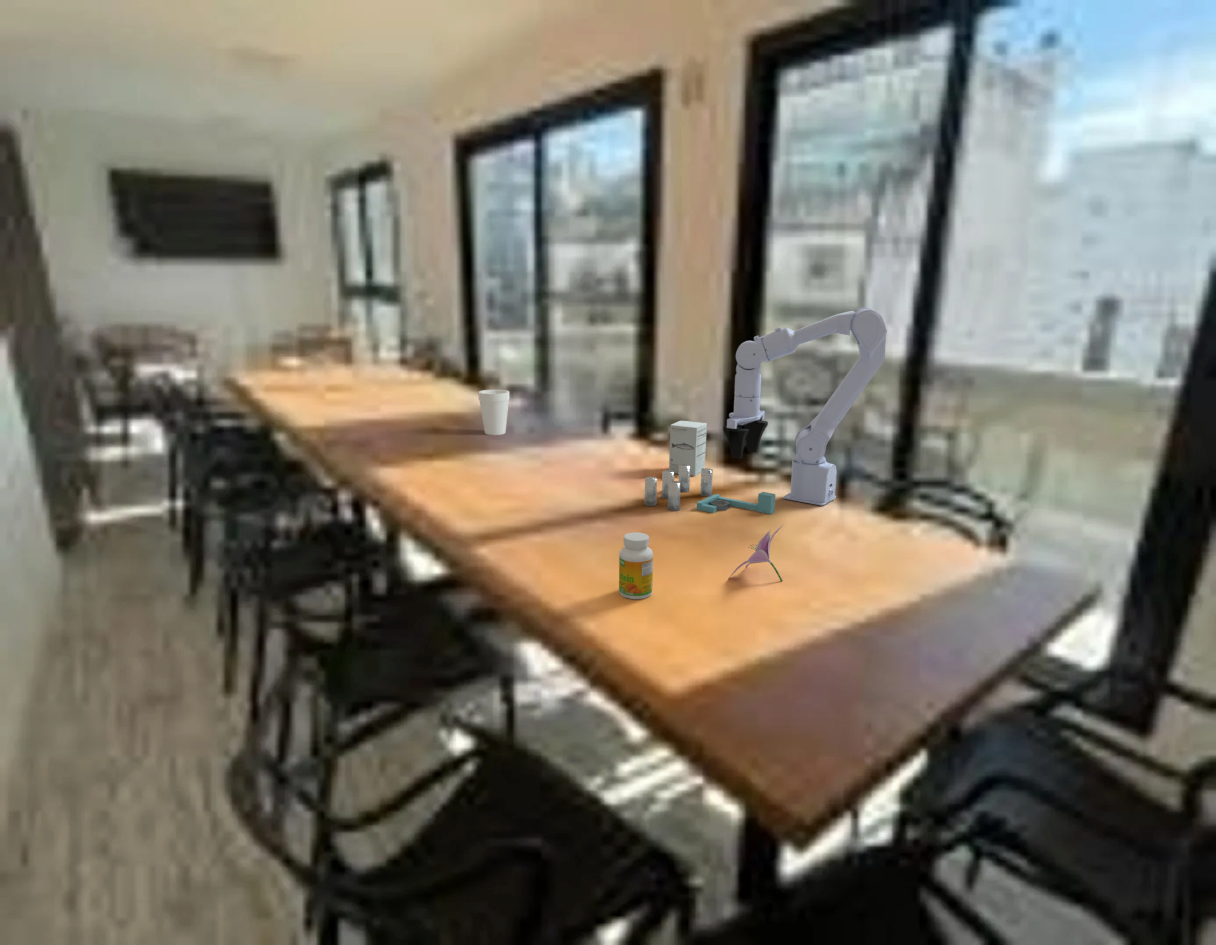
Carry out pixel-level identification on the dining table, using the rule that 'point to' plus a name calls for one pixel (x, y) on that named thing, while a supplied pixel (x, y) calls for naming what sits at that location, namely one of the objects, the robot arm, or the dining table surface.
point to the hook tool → (741, 503)
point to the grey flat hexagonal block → (720, 504)
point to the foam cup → (494, 410)
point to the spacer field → (676, 486)
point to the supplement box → (687, 446)
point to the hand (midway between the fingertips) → (744, 454)
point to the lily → (761, 552)
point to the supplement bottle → (635, 567)
